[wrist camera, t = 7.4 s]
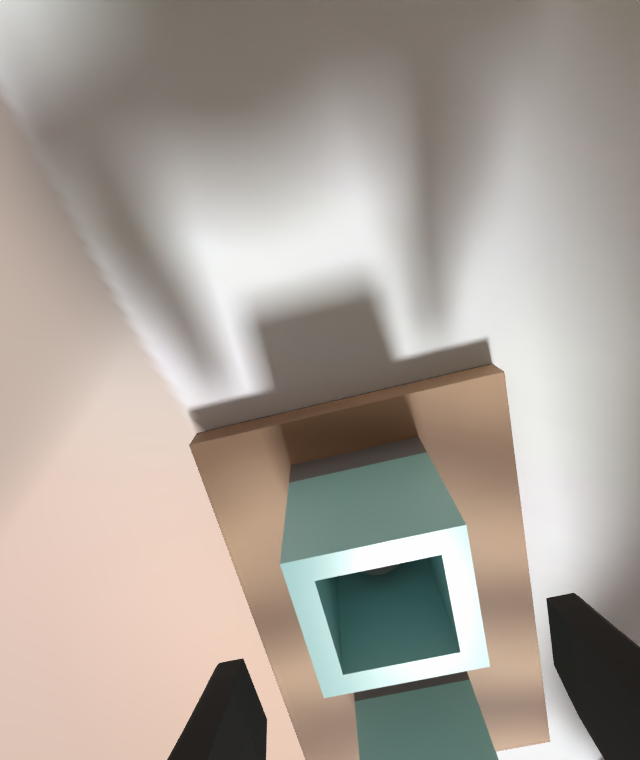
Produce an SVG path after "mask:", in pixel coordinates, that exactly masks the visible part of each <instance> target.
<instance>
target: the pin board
mask: <svg viewBox="0 0 640 760" xmlns="http://www.w3.org/2000/svg"><path fill="white" fill-rule="evenodd" d="M418 436H419V438H420V440H421V442H422V444H423V446H424V447H425V449H426V451H427V453H428V455H429V457H430V458H431V460H432V462H433V464H434V466H435V468H436V470H437V471H438V473H439V475H440V477H441V479H442V481H443V483H444V484H445V486H446V488H447V490H448V492H449V494H450V496H451V497H452V499H453V501H454V503H455V505H456V507H457V508H458V510H459V512H460V514H461V516H462V518H463V520H464V521H465V523H466V526H467V532H468V538H469V544H470V550H471V556H472V562H473V568H474V574H475V580H476V586H477V592H478V598H479V604H480V610H481V616H482V622H483V628H484V633H485V639H486V645H487V651H488V657H489V663H490V667H485V668H480V669H475V670H470V671H467V673H468V676H469V679H470V681H471V684H472V687H473V690H474V693H475V695H476V698H477V701H478V704H479V707H480V709H481V712H482V715H483V718H484V721H485V724H486V726H487V729H488V732H489V735H490V738H491V740H492V743H493V746H494V749H495V751H501V750H507V749H512V748H518V747H523V746H529V745H534V744H540V743H545V742H550V737H549V729H548V721H547V713H546V705H545V697H544V689H543V681H542V673H541V664H540V656H539V648H538V640H537V632H536V624H535V616H534V608H533V600H532V592H531V584H530V576H529V568H528V560H527V552H526V543H525V535H524V527H523V519H522V511H521V503H520V495H519V487H518V479H517V471H516V463H515V455H514V447H513V439H512V431H511V422H510V414H509V406H508V398H507V390H506V382H505V374H504V371H502V370H501V369H499V368H498V367H496V366H495V365H493V364H490V365H486V366H481V367H477V368H473V369H469V370H464V371H460V372H456V373H452V374H447V375H443V376H439V377H435V378H430V379H426V380H422V381H418V382H413V383H409V384H405V385H401V386H396V387H392V388H388V389H384V390H379V391H375V392H371V393H366V394H362V395H358V396H354V397H349V398H345V399H341V400H337V401H332V402H328V403H324V404H320V405H315V406H311V407H307V408H303V409H298V410H294V411H290V412H286V413H281V414H277V415H273V416H269V417H264V418H260V419H256V420H251V421H247V422H243V423H239V424H234V425H230V426H226V427H222V428H217V429H213V430H209V431H205V432H200V433H197V434H196V435H195V437H194V439H193V440H192V442H191V444H190V448H191V451H192V454H193V456H194V459H195V462H196V464H197V467H198V470H199V472H200V475H201V478H202V481H203V483H204V486H205V488H206V492H207V494H208V497H209V500H210V502H211V505H212V508H213V510H214V513H215V516H216V519H217V521H218V524H219V527H220V529H221V532H222V535H223V537H224V540H225V543H226V546H227V548H228V551H229V554H230V556H231V559H232V562H233V565H234V567H235V570H236V573H237V575H238V578H239V581H240V583H241V586H242V589H243V592H244V594H245V597H246V600H247V602H248V605H249V608H250V610H251V613H252V616H253V619H254V621H255V624H256V627H257V629H258V632H259V635H260V637H261V640H262V643H263V646H264V648H265V651H266V654H267V656H268V659H269V662H270V665H271V667H272V670H273V672H274V675H275V678H276V681H277V683H278V686H279V689H280V691H281V694H282V697H283V700H284V702H285V705H286V708H287V710H288V713H289V716H290V718H291V721H292V724H293V726H294V729H295V732H296V735H297V738H298V740H299V743H300V746H301V748H302V751H303V754H304V756H305V759H306V760H360V759H359V747H358V736H357V724H356V713H355V701H354V693H349V694H344V695H338V696H333V697H328V698H324V697H323V694H322V691H321V688H320V685H319V682H318V679H317V676H316V673H315V670H314V666H313V663H312V660H311V657H310V654H309V651H308V648H307V645H306V642H305V639H304V636H303V633H302V630H301V627H300V624H299V621H298V618H297V615H296V612H295V609H294V606H293V603H292V599H291V596H290V593H289V590H288V587H287V584H286V581H285V578H284V575H283V572H282V569H281V566H280V559H281V550H282V540H283V531H284V522H285V513H286V504H287V495H288V486H289V477H290V468H291V465H294V464H298V463H303V462H307V461H312V460H316V459H320V458H325V457H329V456H334V455H338V454H343V453H347V452H352V451H356V450H360V449H365V448H369V447H374V446H378V445H383V444H387V443H392V442H396V441H400V440H405V439H409V438H414V437H418ZM397 566H398V564H394V565H389V566H385V567H380V568H375V569H370V570H365V571H361V572H363V573H365V574H368V575H383V574H386V573H389V572H390V571H392V570H394V569H395V568H396V567H397Z"/></svg>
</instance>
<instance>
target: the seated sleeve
mask: <svg viewBox="0 0 640 760" xmlns="http://www.w3.org/2000/svg"><path fill="white" fill-rule="evenodd" d="M354 701H355V713H356V724H357V736H358V747H359V759H360V760H498V757H497V754H496V752H495V749H494V746H493V743H492V740H491V738H490V735H489V732H488V729H487V726H486V724H485V721H484V718H483V715H482V712H481V709H480V707H479V704H478V701H477V698H476V695H475V693H474V690H473V687H472V684H471V681H470V679H469V676H468V673H467V671H464V672H459V673H454V674H449V675H443V676H438V677H433V678H428V679H422V680H417V681H412V682H407V683H401V684H396V685H391V686H386V687H380V688H375V689H370V690H365V691H359V692H354Z"/></svg>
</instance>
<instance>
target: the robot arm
mask: <svg viewBox="0 0 640 760" xmlns="http://www.w3.org/2000/svg"><path fill="white" fill-rule="evenodd" d="M547 607H548V616H549V624H550V633H551V642H552V651H553V660H554V666H555V668H556V670H557V672H558V674H559V676H560V678H561V680H562V683H563V685H564V687H565V689H566V691H567V693H568V695H569V697H570V699H571V701H572V703H573V705H574V707H575V709H576V711H577V713H578V715H579V717H580V719H581V721H582V722H583V724H584V726H585V727H586V729H587V731H588V732H589V734H590V736H591V737H592V739H593V741H594V742H595V744H596V746H597V747H598V749H599V751H600V752H601V754H602V756H603V757H604V759H605V760H640V647H639V646H638V645H637V644H635V643H634V642H633V641H632V640H630V639H629V638H628V637H627V636H626V635H624V634H623V633H622V632H621V631H619V630H618V629H617V628H616V627H615V626H613V625H612V624H611V623H610V622H609V621H607V620H606V619H605V618H604V617H603V616H601V615H600V614H599V613H598V612H597V611H596V610H594V609H593V608H592V607H591V606H590V605H588V604H587V603H586V602H585V601H584V600H583V599H581V598H580V597H579V596H578V595H576V594H574V593H571V594H566V595H561V596H556V597H550V598H547ZM266 733H267V718H266V716H265V713H264V711H263V708H262V706H261V703H260V700H259V698H258V695H257V693H256V690H255V688H254V685H253V683H252V680H251V678H250V675H249V673H248V670H247V667H246V665H245V662H244V660H243V659H238V660H233V661H228V662H223V663H219V664H218V665H217V667H216V668H215V670H214V672H213V674H212V676H211V678H210V680H209V682H208V684H207V686H206V688H205V690H204V692H203V694H202V696H201V698H200V699H199V702H198V703H197V705H196V707H195V709H194V711H193V713H192V715H191V717H190V719H189V721H188V722H187V724H186V726H185V728H184V730H183V732H182V734H181V736H180V738H179V739H178V741H177V743H176V745H175V747H174V749H173V750H172V752H171V754H170V756H169V758H168V759H167V760H266Z"/></svg>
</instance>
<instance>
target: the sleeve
mask: <svg viewBox="0 0 640 760" xmlns="http://www.w3.org/2000/svg"><path fill="white" fill-rule="evenodd" d="M394 564H398V566H397V567H396V568H395V569H394V570H392V571H390V572H389V573H386V574H383V575H368V574H365V573H363V572H361V571H365V570H370V569H375V568H380V567H385V566H389V565H394ZM280 566H281V569H282V572H283V575H284V578H285V581H286V584H287V587H288V590H289V593H290V596H291V599H292V603H293V606H294V609H295V612H296V615H297V618H298V621H299V624H300V627H301V630H302V633H303V636H304V639H305V642H306V645H307V648H308V651H309V654H310V657H311V660H312V663H313V666H314V670H315V673H316V676H317V679H318V682H319V685H320V688H321V691H322V694H323V697H324V698H328V697H333V696H338V695H344V694H349V693H354V692H359V691H365V690H370V689H375V688H380V687H386V686H391V685H396V684H401V683H407V682H412V681H417V680H422V679H428V678H433V677H438V676H443V675H449V674H454V673H459V672H464V671H470V670H475V669H480V668H485V667H490V663H489V657H488V651H487V645H486V639H485V633H484V628H483V622H482V616H481V610H480V604H479V598H478V592H477V586H476V580H475V574H474V568H473V562H472V556H471V550H470V544H469V538H468V532H467V526H466V523H465V521H464V520H463V518H462V516H461V514H460V512H459V510H458V508H457V507H456V505H455V503H454V501H453V499H452V497H451V496H450V494H449V492H448V490H447V488H446V486H445V484H444V483H443V481H442V479H441V477H440V475H439V473H438V471H437V470H436V468H435V466H434V464H433V462H432V460H431V458H430V457H429V455H428V453H427V451H426V449H425V447H424V446H423V444H422V442H421V440H420V438H419V436H418V437H414V438H409V439H405V440H400V441H396V442H392V443H387V444H383V445H378V446H374V447H369V448H365V449H360V450H356V451H352V452H347V453H343V454H338V455H334V456H329V457H325V458H320V459H316V460H312V461H307V462H303V463H298V464H294V465H291V468H290V477H289V486H288V495H287V504H286V513H285V522H284V531H283V540H282V550H281V559H280Z"/></svg>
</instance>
